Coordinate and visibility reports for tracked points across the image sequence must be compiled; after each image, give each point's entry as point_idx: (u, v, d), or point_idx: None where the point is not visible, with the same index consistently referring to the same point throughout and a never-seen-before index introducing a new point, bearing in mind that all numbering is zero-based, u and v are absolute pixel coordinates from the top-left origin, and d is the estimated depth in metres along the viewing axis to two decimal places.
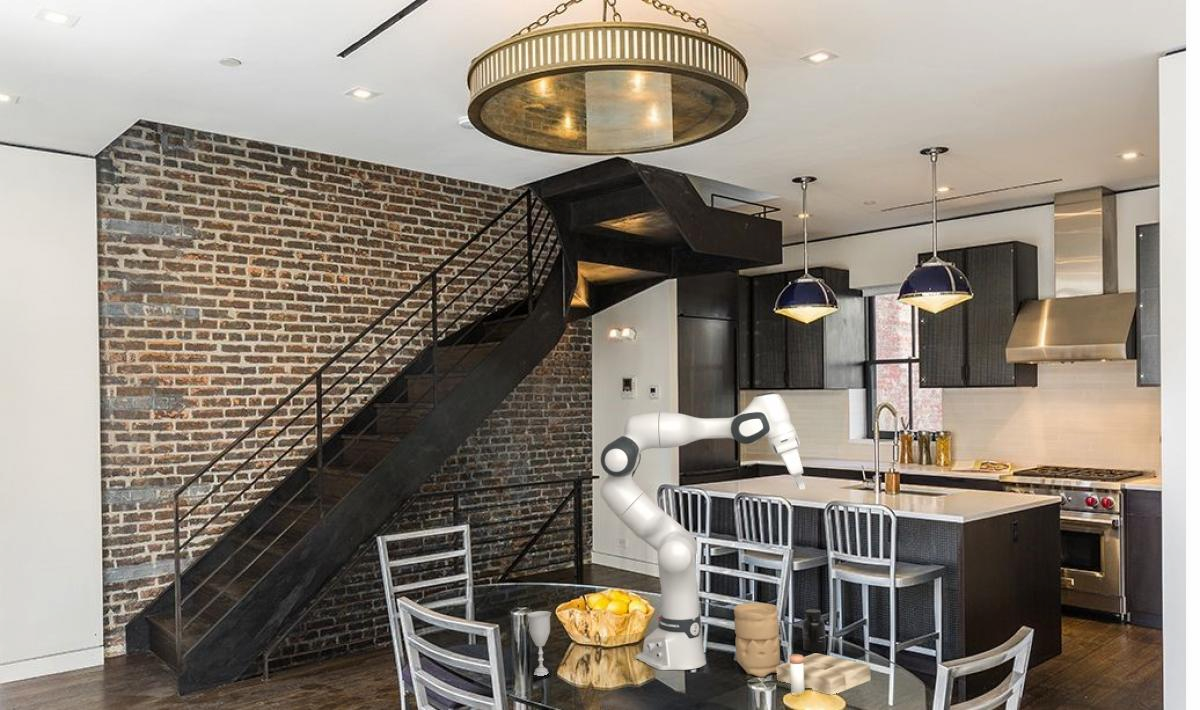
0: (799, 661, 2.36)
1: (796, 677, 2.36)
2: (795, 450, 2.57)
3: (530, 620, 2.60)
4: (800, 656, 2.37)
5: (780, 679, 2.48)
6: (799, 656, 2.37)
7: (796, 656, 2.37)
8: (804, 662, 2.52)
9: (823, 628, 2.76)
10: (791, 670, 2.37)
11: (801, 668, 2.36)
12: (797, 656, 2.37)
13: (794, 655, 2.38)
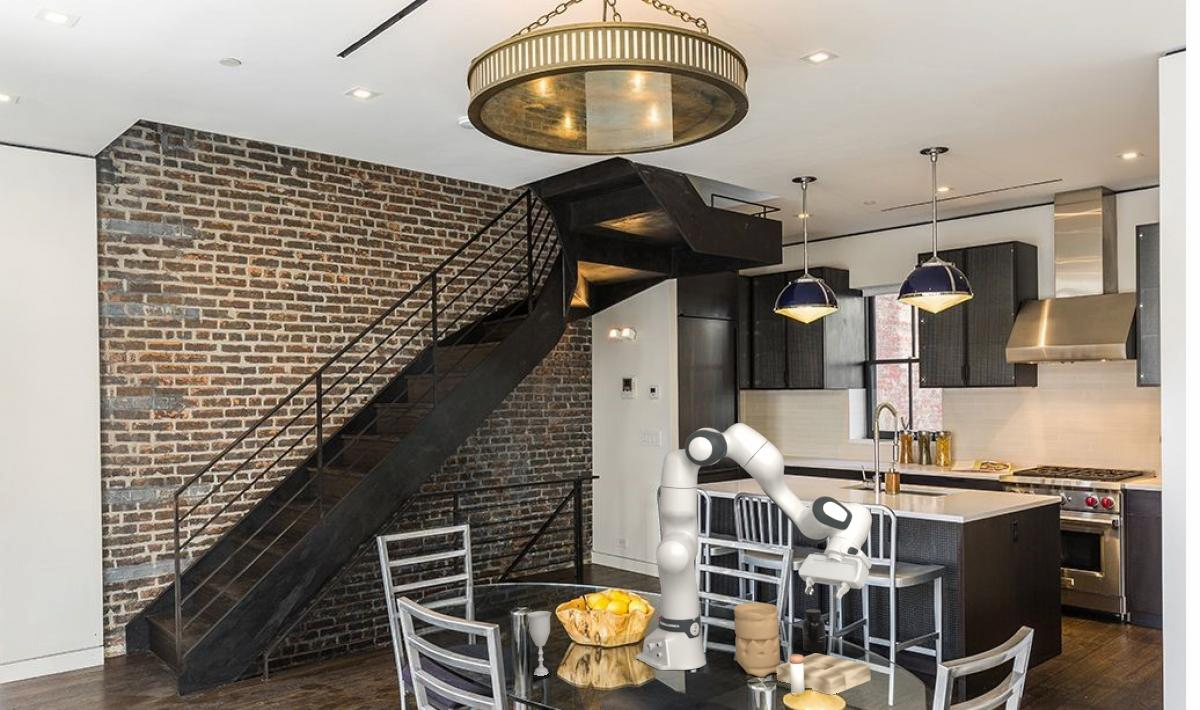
0: (799, 661, 2.36)
1: (796, 677, 2.36)
2: (867, 569, 2.46)
3: (530, 620, 2.60)
4: (800, 656, 2.37)
5: (780, 679, 2.48)
6: (799, 656, 2.37)
7: (796, 656, 2.37)
8: (804, 662, 2.52)
9: (823, 628, 2.76)
10: (791, 670, 2.37)
11: (801, 668, 2.36)
12: (797, 656, 2.37)
13: (794, 655, 2.38)
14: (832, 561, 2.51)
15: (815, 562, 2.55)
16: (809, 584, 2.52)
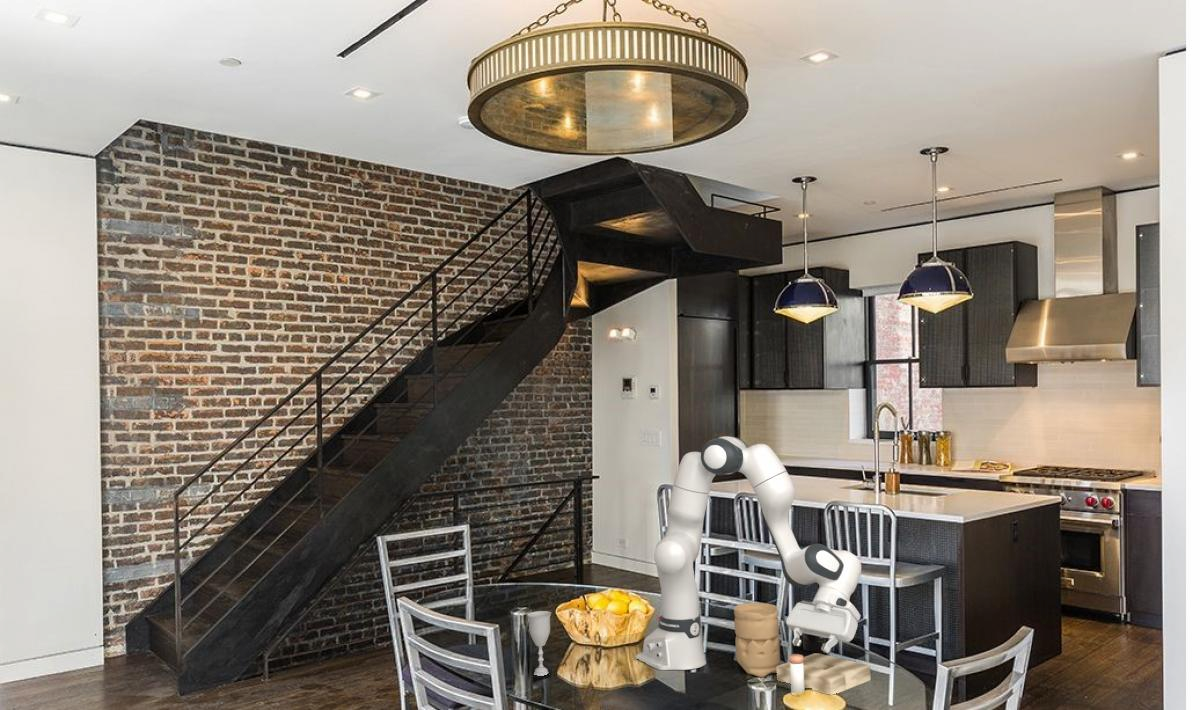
0: (799, 661, 2.36)
1: (796, 677, 2.36)
2: (856, 621, 2.41)
3: (530, 620, 2.60)
4: (800, 656, 2.37)
5: (780, 679, 2.48)
6: (799, 656, 2.37)
7: (796, 656, 2.37)
8: (804, 662, 2.52)
9: None
10: (791, 670, 2.37)
11: (801, 668, 2.36)
12: (797, 656, 2.37)
13: (794, 655, 2.38)
14: (820, 612, 2.46)
15: (803, 611, 2.50)
16: (797, 635, 2.47)
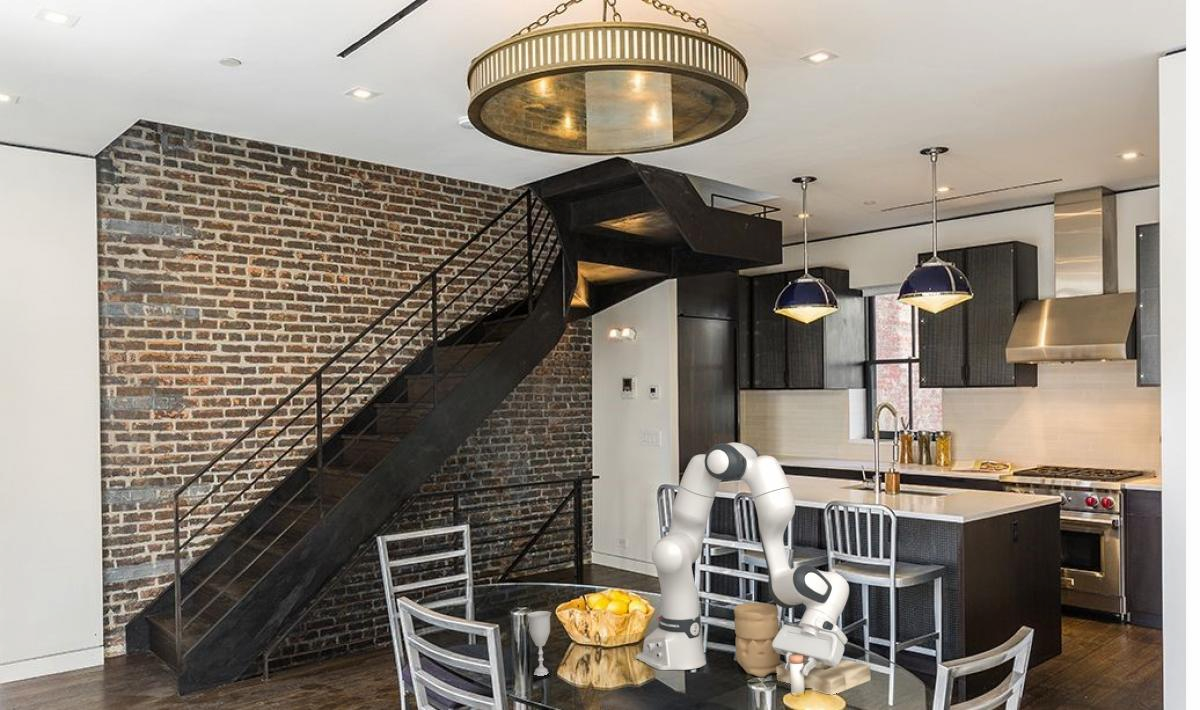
0: (799, 661, 2.36)
1: (796, 677, 2.36)
2: (843, 645, 2.37)
3: (530, 620, 2.60)
4: (800, 656, 2.37)
5: (780, 679, 2.48)
6: (799, 656, 2.37)
7: (796, 656, 2.37)
8: (804, 662, 2.52)
9: None
10: (791, 670, 2.37)
11: None
12: (797, 656, 2.37)
13: (794, 655, 2.38)
14: (807, 635, 2.42)
15: (789, 634, 2.46)
16: None
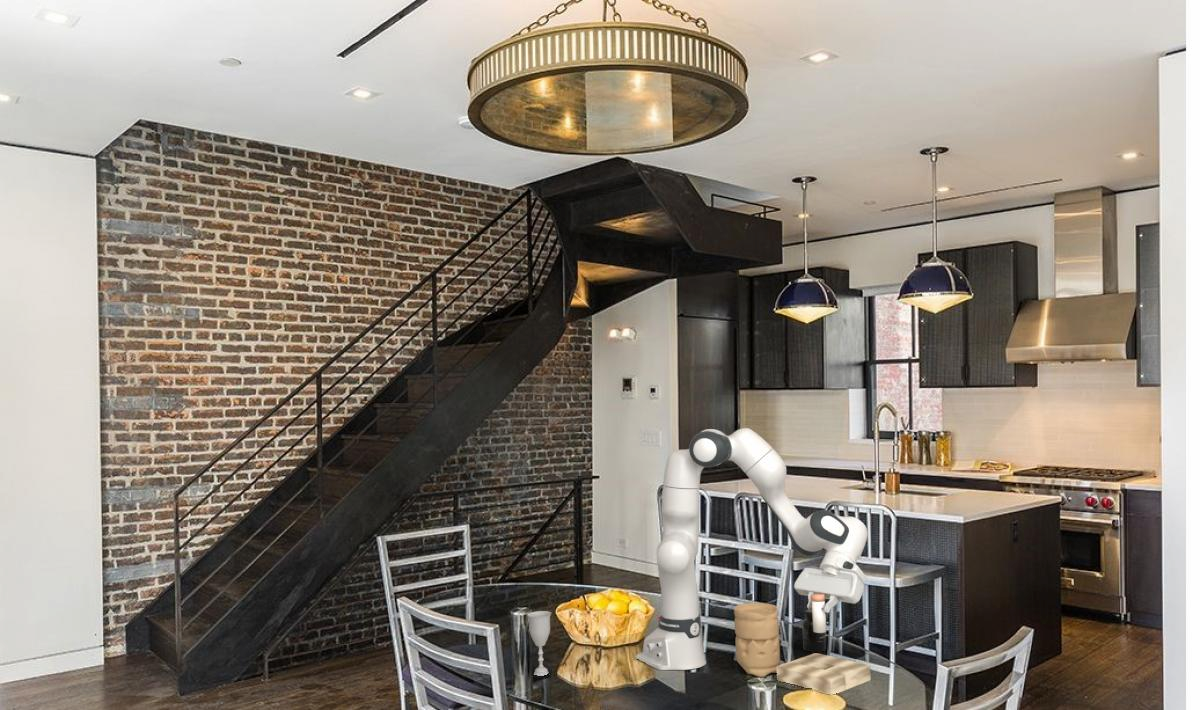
0: (821, 599, 2.46)
1: (818, 614, 2.46)
2: (863, 583, 2.47)
3: (530, 620, 2.60)
4: (822, 594, 2.47)
5: (780, 679, 2.48)
6: (821, 594, 2.47)
7: (818, 595, 2.48)
8: (804, 662, 2.52)
9: None
10: (813, 608, 2.47)
11: None
12: (819, 595, 2.48)
13: (816, 594, 2.49)
14: (827, 575, 2.52)
15: (811, 576, 2.56)
16: None
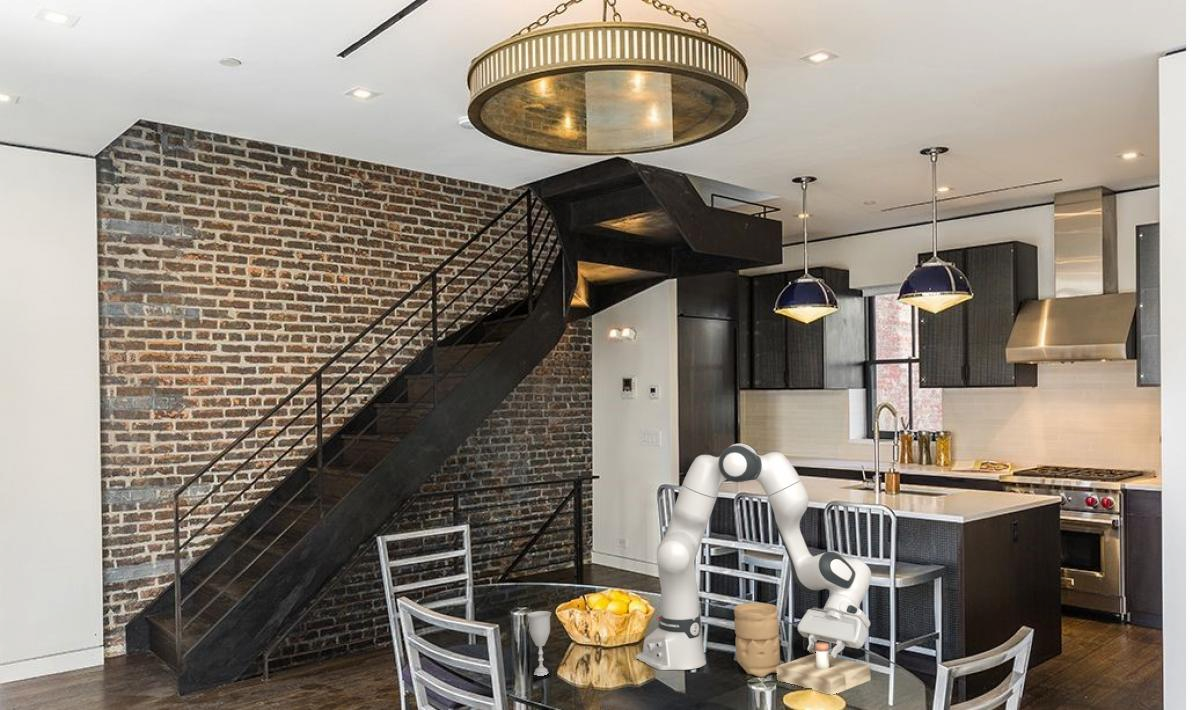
0: (825, 649, 2.46)
1: (821, 663, 2.46)
2: (866, 628, 2.47)
3: (530, 620, 2.60)
4: (826, 644, 2.48)
5: (780, 679, 2.48)
6: (825, 644, 2.48)
7: (822, 644, 2.48)
8: (804, 662, 2.52)
9: None
10: (817, 657, 2.47)
11: (827, 655, 2.47)
12: (823, 644, 2.48)
13: (820, 643, 2.49)
14: (831, 618, 2.52)
15: (814, 618, 2.56)
16: (812, 642, 2.52)
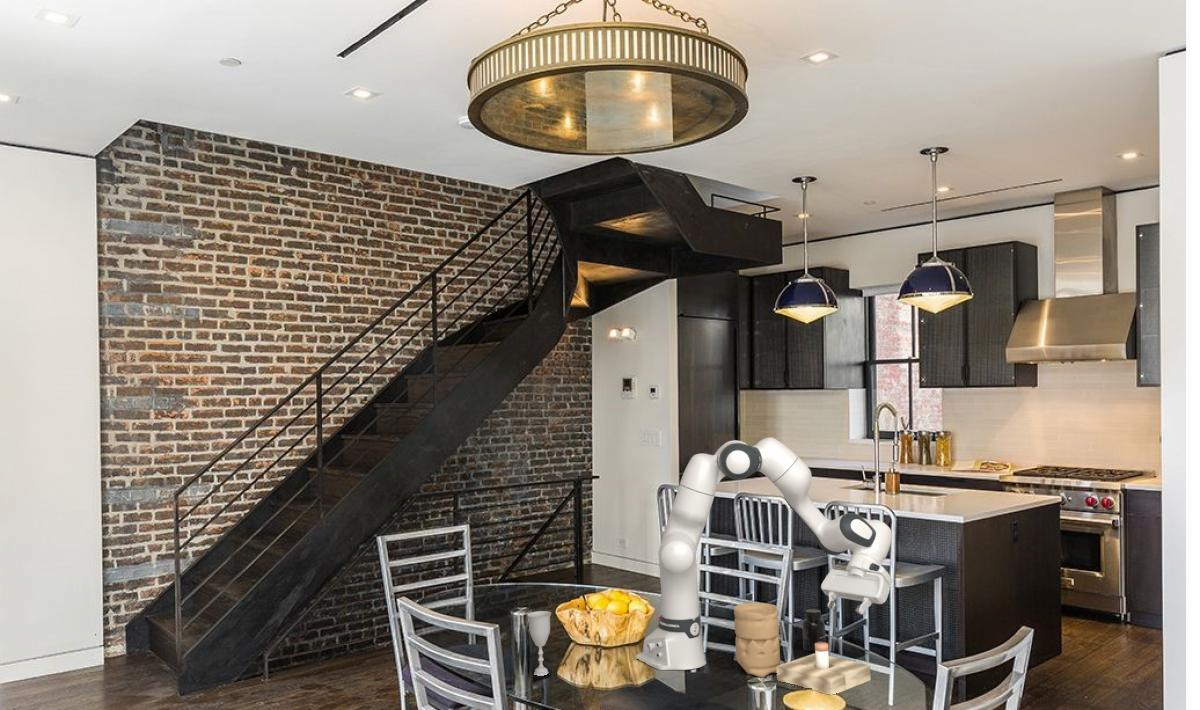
0: (824, 649, 2.47)
1: (821, 663, 2.46)
2: (888, 585, 2.55)
3: (530, 620, 2.60)
4: (825, 644, 2.48)
5: (780, 679, 2.48)
6: (824, 644, 2.48)
7: (821, 644, 2.48)
8: (804, 662, 2.52)
9: (823, 628, 2.76)
10: (817, 657, 2.47)
11: (826, 655, 2.47)
12: (822, 644, 2.48)
13: (819, 643, 2.49)
14: (854, 576, 2.60)
15: (837, 577, 2.64)
16: (831, 598, 2.61)
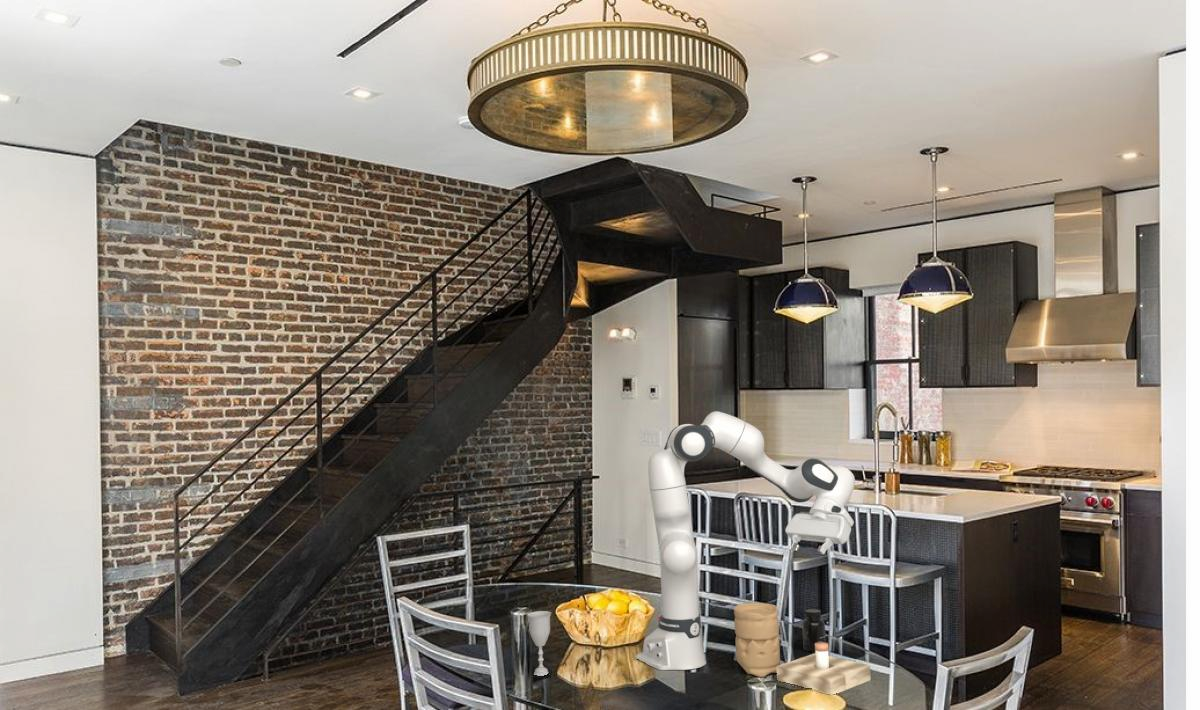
0: (824, 649, 2.47)
1: (821, 663, 2.46)
2: (850, 526, 2.62)
3: (530, 620, 2.60)
4: (825, 644, 2.48)
5: (780, 679, 2.48)
6: (824, 644, 2.48)
7: (821, 644, 2.48)
8: (804, 662, 2.52)
9: (823, 628, 2.76)
10: (817, 657, 2.47)
11: (826, 655, 2.47)
12: (822, 644, 2.48)
13: (819, 643, 2.49)
14: (817, 519, 2.67)
15: (801, 520, 2.71)
16: (795, 541, 2.68)
